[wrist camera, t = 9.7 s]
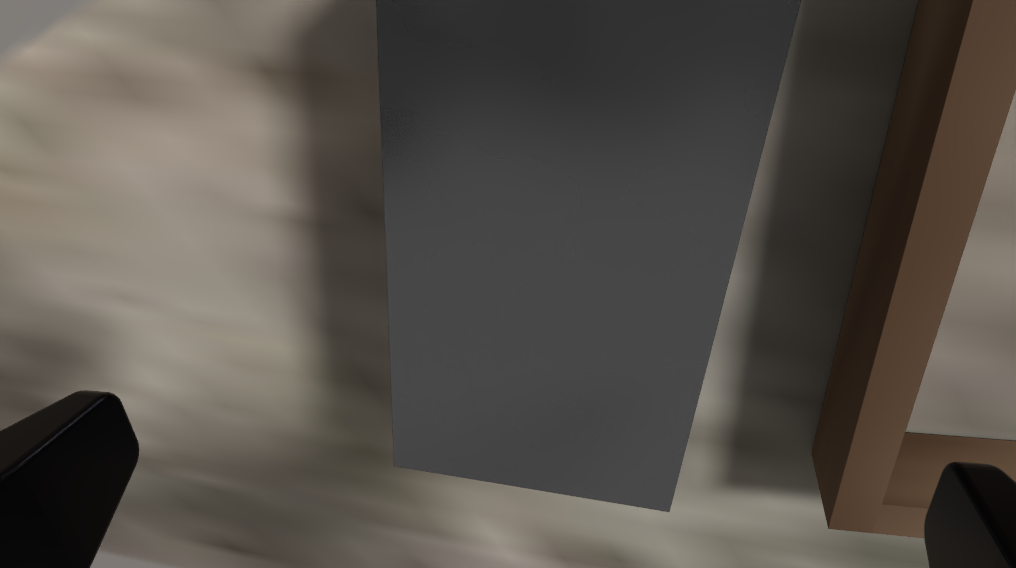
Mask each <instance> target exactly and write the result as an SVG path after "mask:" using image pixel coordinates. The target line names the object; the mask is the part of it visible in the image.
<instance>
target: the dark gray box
mask: <svg viewBox="0 0 1016 568" xmlns="http://www.w3.org/2000/svg"><path fill="white" fill-rule="evenodd" d="M800 3H801V0H376V9H377V35H378V61H379V87H380V113H381V139H382V165H383V190H384V216H385V242H386V268H387V294H388V320H389V346H390V371H391V397H392V423H393V449H394V466H396V467H402V468H408V469H414V470H420V471H426V472H432V473H438V474H444V475H450V476H456V477H462V478H468V479H474V480H480V481H486V482H492V483H498V484H504V485H510V486H516V487H522V488H528V489H534V490H540V491H546V492H552V493H558V494H564V495H570V496H576V497H582V498H588V499H594V500H600V501H606V502H612V503H618V504H624V505H630V506H636V507H642V508H648V509H654V510H660V511H666V512H670V508H671V504H672V500H673V496H674V492H675V488H676V484H677V480H678V477H679V473H680V469H681V465H682V461H683V457H684V453H685V449H686V446H687V442H688V438H689V434H690V430H691V426H692V422H693V418H694V414H695V411H696V407H697V403H698V399H699V395H700V391H701V387H702V383H703V380H704V376H705V372H706V368H707V364H708V360H709V356H710V352H711V348H712V345H713V341H714V337H715V333H716V329H717V325H718V321H719V317H720V314H721V310H722V306H723V302H724V298H725V294H726V290H727V286H728V282H729V279H730V275H731V271H732V267H733V263H734V259H735V255H736V251H737V248H738V244H739V240H740V236H741V232H742V228H743V224H744V220H745V216H746V213H747V209H748V205H749V201H750V197H751V193H752V189H753V185H754V181H755V178H756V174H757V170H758V166H759V162H760V158H761V154H762V150H763V147H764V143H765V139H766V135H767V131H768V127H769V123H770V119H771V115H772V112H773V108H774V104H775V100H776V96H777V92H778V88H779V84H780V81H781V77H782V73H783V69H784V65H785V61H786V57H787V53H788V49H789V46H790V42H791V38H792V34H793V30H794V26H795V22H796V18H797V15H798V11H799V7H800Z"/></svg>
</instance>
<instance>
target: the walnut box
mask: <svg viewBox="0 0 1016 568" xmlns="http://www.w3.org/2000/svg"><path fill="white" fill-rule="evenodd" d="M1015 90H1016V0H919V3H918V7H917V11H916V15H915V19H914V24H913V28H912V32H911V36H910V40H909V45H908V49H907V53H906V57H905V62H904V66H903V70H902V74H901V78H900V83H899V87H898V91H897V95H896V99H895V104H894V108H893V112H892V116H891V121H890V125H889V129H888V133H887V137H886V142H885V146H884V150H883V154H882V158H881V163H880V167H879V171H878V175H877V180H876V184H875V188H874V192H873V196H872V201H871V205H870V209H869V213H868V217H867V222H866V226H865V230H864V234H863V239H862V243H861V247H860V251H859V255H858V260H857V264H856V268H855V272H854V276H853V281H852V285H851V289H850V293H849V298H848V302H847V306H846V310H845V314H844V319H843V323H842V327H841V331H840V335H839V340H838V344H837V348H836V352H835V357H834V361H833V365H832V369H831V373H830V378H829V382H828V386H827V390H826V394H825V399H824V403H823V407H822V411H821V416H820V420H819V424H818V428H817V432H816V437H815V441H814V445H813V449H812V458H813V462H814V467H815V471H816V476H817V480H818V485H819V489H820V493H821V498H822V502H823V507H824V511H825V516H826V520H827V525H828V529H837V530H847V531H857V532H867V533H877V534H888V535H898V536H908V537H918V538H924V523H925V517H926V514H927V511H928V508H929V506H930V503H931V500H932V498H933V495H934V492H935V489H936V487H937V484H938V481H939V479H940V476H941V473H942V471H943V469H944V468H945V466H946V465H947V464H949V463H951V462H969V463H981V464H990V465H993V466H996V467H998V468H999V469H1001V470H1002V471H1003V472H1005V473H1006V474H1007V475H1008V476H1009V477H1011V478H1012V479H1013V480H1014V481H1015V482H1016V441H1008V440H995V439H982V438H970V437H957V436H944V435H931V434H918V433H905V431H906V428H907V425H908V422H909V418H910V415H911V412H912V409H913V406H914V403H915V400H916V397H917V394H918V391H919V387H920V384H921V381H922V378H923V375H924V372H925V369H926V366H927V363H928V360H929V356H930V353H931V350H932V347H933V344H934V341H935V338H936V335H937V332H938V328H939V325H940V322H941V319H942V316H943V313H944V310H945V307H946V304H947V301H948V297H949V294H950V291H951V288H952V285H953V282H954V279H955V276H956V273H957V270H958V266H959V263H960V260H961V257H962V254H963V251H964V248H965V245H966V242H967V239H968V235H969V232H970V229H971V226H972V223H973V220H974V217H975V214H976V211H977V208H978V204H979V201H980V198H981V195H982V192H983V189H984V186H985V183H986V180H987V177H988V173H989V170H990V167H991V164H992V161H993V158H994V155H995V152H996V149H997V146H998V142H999V139H1000V136H1001V133H1002V130H1003V127H1004V124H1005V121H1006V118H1007V115H1008V111H1009V108H1010V105H1011V102H1012V99H1013V96H1014V93H1015Z"/></svg>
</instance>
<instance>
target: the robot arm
mask: <svg viewBox="0 0 1016 568" xmlns="http://www.w3.org/2000/svg"><path fill="white" fill-rule="evenodd" d="M138 456H139V443H138V440H137V438H136V435H135V433H134V431H133V428H132V426H131V423H130V421H129V419H128V416H127V414H126V412H125V409H124V407H123V405H122V402H121V401H120V399H119V398H118V397H117V396H116V395H115V394H112V393H110V392H99V391H87V390H85V391H78V392H75V393H73V394H71V395H69V396H67V397H65V398H63V399H61V400H59V401H57V402H55V403H53V404H52V405H50V406H48V407H46V408H44V409H42V410H40V411H38V412H36V413H34V414H32V415H30V416H28V417H27V418H25V419H23V420H21V421H19V422H17V423H15V424H13V425H11V426H9V427H7V428H5V429H3V430H2V431H0V568H90V566H91V564H92V562H93V560H94V558H95V556H96V553H97V551H98V549H99V547H100V544H101V542H102V540H103V538H104V536H105V533H106V531H107V529H108V527H109V524H110V522H111V520H112V518H113V516H114V513H115V511H116V509H117V507H118V504H119V502H120V500H121V498H122V496H123V493H124V491H125V489H126V487H127V484H128V482H129V480H130V478H131V476H132V473H133V471H134V469H135V467H136V464H137V461H138ZM924 538H925V545H926V550H927V556H928V561H929V567H930V568H1016V482H1015V481H1014V480H1013V479H1012V478H1011V477H1009V476H1008V475H1007V474H1006V473H1005V472H1003V471H1002V470H1001V469H999V468H998V467H996V466H993V465H990V464H981V463H969V462H951V463H949V464H947V465H946V466H945V468H944V469H943V471H942V473H941V476H940V479H939V481H938V484H937V487H936V489H935V492H934V495H933V498H932V500H931V503H930V506H929V508H928V511H927V514H926V517H925V523H924Z"/></svg>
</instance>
